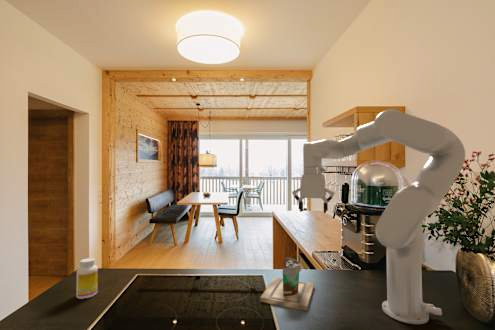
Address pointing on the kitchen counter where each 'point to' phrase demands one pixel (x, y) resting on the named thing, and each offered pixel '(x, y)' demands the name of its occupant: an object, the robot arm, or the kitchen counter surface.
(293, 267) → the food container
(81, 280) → the supplement bottle
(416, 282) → the robot arm
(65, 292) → the kitchen counter surface
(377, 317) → the kitchen counter surface
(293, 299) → the base board
